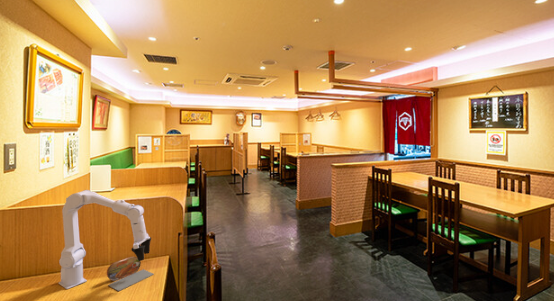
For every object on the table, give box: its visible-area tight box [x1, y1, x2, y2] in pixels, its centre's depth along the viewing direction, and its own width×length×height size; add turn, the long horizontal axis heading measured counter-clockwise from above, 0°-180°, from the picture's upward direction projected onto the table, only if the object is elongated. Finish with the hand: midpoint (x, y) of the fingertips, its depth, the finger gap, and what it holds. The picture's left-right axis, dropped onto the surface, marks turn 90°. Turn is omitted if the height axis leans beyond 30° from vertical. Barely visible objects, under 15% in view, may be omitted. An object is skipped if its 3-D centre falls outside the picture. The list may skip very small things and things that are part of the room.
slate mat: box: [107, 268, 155, 292], centre depth 122 cm, size 9×17×1 cm, turn 149°
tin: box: [106, 256, 142, 282], centre depth 126 cm, size 15×3×8 cm, turn 143°
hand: (144, 256), depth 124 cm, fingers open, 7 cm apart
